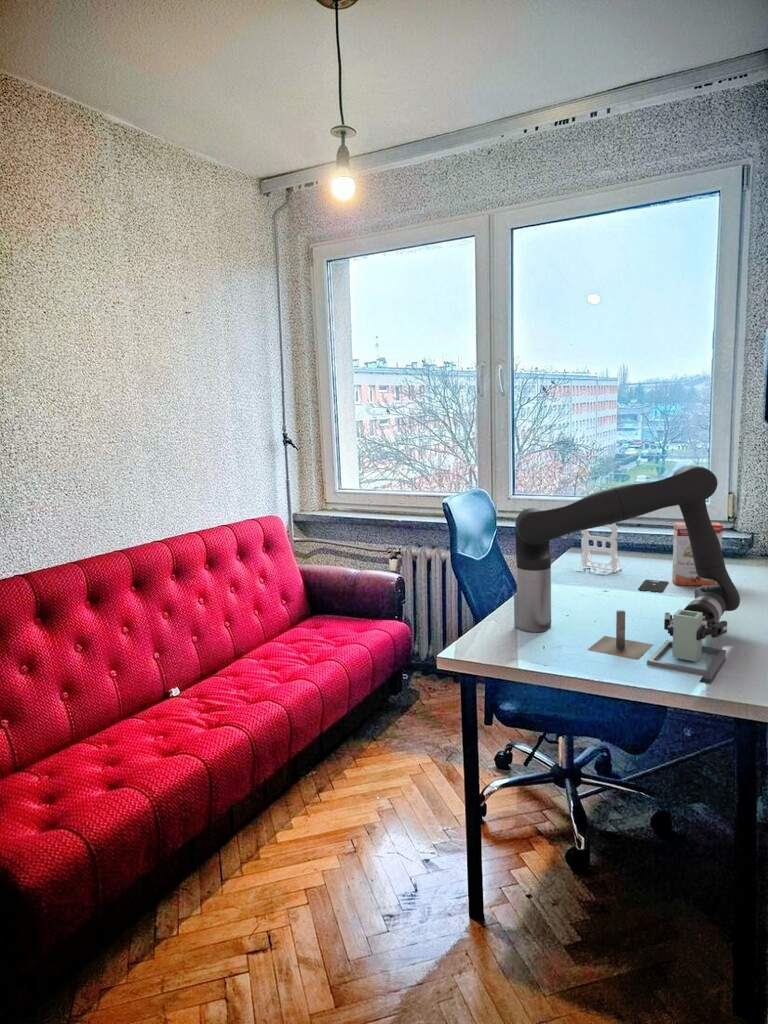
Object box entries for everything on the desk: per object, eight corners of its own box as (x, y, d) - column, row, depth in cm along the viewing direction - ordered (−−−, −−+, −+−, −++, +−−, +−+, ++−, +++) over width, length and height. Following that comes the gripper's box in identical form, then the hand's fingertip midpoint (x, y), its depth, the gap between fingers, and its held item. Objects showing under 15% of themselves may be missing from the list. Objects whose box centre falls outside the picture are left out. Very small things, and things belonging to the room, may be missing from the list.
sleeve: (672, 657, 142) (673, 614, 141) (678, 650, 146) (679, 609, 145) (696, 661, 139) (697, 618, 138) (701, 654, 143) (702, 612, 141)
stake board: (587, 655, 151) (587, 613, 150) (604, 641, 160) (604, 601, 159) (638, 666, 144) (638, 622, 142) (653, 650, 153) (654, 608, 152)
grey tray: (646, 671, 141) (647, 660, 140) (666, 649, 153) (666, 640, 153) (710, 684, 132) (710, 672, 132) (725, 660, 145) (726, 650, 144)
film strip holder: (571, 570, 237) (571, 519, 234) (589, 564, 246) (590, 514, 243) (606, 576, 226) (606, 522, 224) (624, 569, 235) (625, 517, 233)
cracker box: (675, 585, 210) (677, 524, 207) (671, 581, 216) (673, 521, 213) (721, 586, 207) (723, 524, 204) (716, 582, 212) (718, 521, 210)
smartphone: (668, 583, 215) (668, 581, 215) (662, 594, 202) (662, 591, 202) (645, 581, 219) (645, 579, 219) (637, 591, 206) (637, 589, 206)
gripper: (671, 595, 157) (651, 612, 143) (735, 603, 148) (720, 623, 134) (670, 624, 158) (650, 644, 144) (734, 634, 149) (719, 656, 136)
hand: (684, 633), depth 140 cm, fingers closed on sleeve, 5 cm apart
